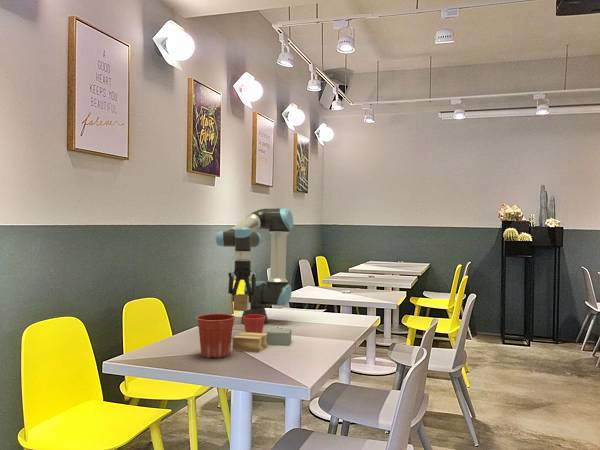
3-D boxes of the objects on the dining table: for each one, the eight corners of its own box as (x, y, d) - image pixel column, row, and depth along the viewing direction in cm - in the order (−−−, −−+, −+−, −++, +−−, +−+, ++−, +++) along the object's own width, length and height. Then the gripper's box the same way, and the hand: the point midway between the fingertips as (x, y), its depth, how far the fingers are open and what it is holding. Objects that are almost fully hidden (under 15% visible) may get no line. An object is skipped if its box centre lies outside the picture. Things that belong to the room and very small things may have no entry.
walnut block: (238, 308, 242) (238, 294, 242) (250, 309, 240) (250, 294, 240) (233, 310, 236) (233, 295, 236) (245, 311, 234) (245, 296, 235)
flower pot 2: (261, 338, 245) (261, 318, 245) (240, 337, 248) (240, 317, 248) (267, 333, 256) (267, 314, 256) (246, 332, 258) (246, 313, 258)
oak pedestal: (243, 344, 233) (243, 331, 233) (267, 346, 230) (267, 333, 230) (232, 351, 221) (232, 337, 221) (258, 353, 218) (258, 339, 218)
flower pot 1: (200, 349, 222) (201, 313, 222) (237, 350, 222) (238, 313, 222) (191, 359, 206) (191, 320, 206) (231, 360, 205) (231, 320, 205)
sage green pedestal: (270, 340, 242) (270, 328, 242) (291, 341, 241) (291, 328, 241) (267, 345, 232) (267, 332, 232) (288, 346, 231) (288, 333, 231)
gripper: (220, 260, 238) (220, 309, 237) (258, 261, 232) (257, 311, 232) (227, 259, 245) (227, 306, 244) (264, 260, 239) (263, 309, 239)
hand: (242, 309), depth 238 cm, fingers closed on walnut block, 6 cm apart
